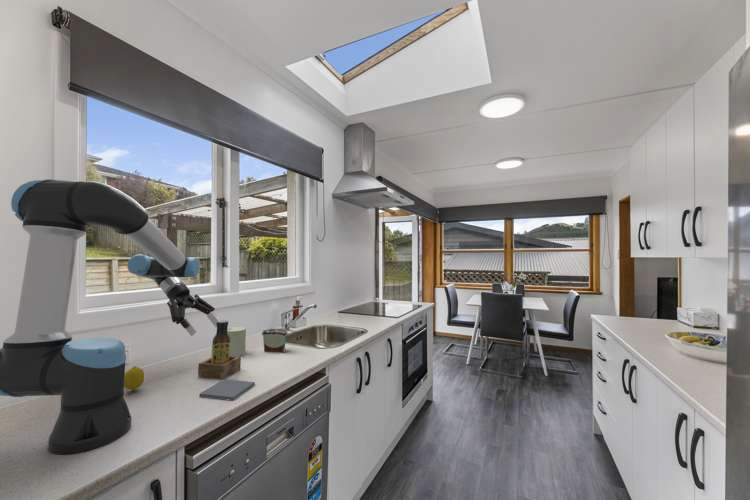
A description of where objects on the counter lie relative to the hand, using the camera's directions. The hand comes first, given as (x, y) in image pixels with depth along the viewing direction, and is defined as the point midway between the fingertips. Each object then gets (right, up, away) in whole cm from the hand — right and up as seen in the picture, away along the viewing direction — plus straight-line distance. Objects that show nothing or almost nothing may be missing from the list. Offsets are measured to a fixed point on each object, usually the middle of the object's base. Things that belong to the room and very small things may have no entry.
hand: (207, 329), depth 121 cm
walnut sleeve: (+6, -16, -3) cm, 18 cm away
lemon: (-14, -16, -19) cm, 29 cm away
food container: (+19, -17, +26) cm, 37 cm away
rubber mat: (+17, -16, -18) cm, 29 cm away
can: (+1, -17, +20) cm, 27 cm away
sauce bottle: (+6, -16, -3) cm, 18 cm away
